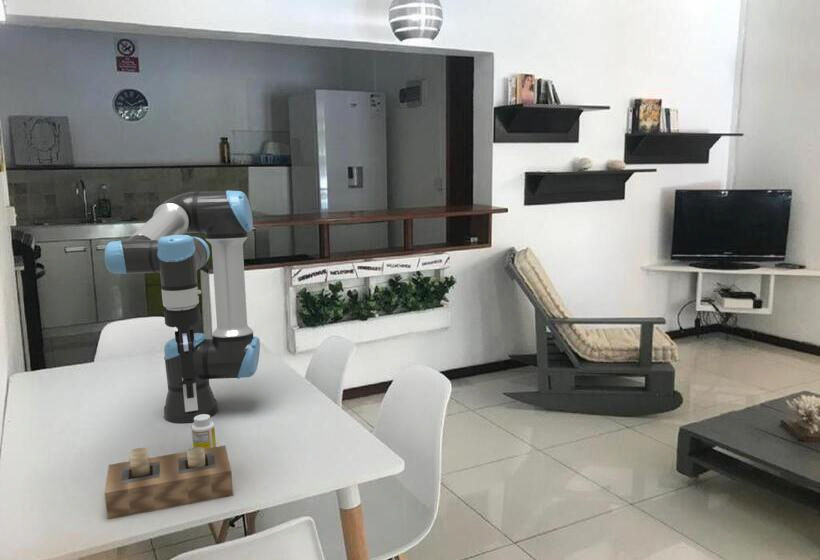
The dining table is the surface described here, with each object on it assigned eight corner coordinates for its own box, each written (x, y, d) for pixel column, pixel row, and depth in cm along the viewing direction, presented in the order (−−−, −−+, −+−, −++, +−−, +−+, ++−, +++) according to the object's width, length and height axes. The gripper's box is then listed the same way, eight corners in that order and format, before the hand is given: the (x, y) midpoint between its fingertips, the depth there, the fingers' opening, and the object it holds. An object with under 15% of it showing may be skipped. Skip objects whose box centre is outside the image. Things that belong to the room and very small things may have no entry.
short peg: (189, 480, 155) (187, 455, 154) (188, 472, 159) (186, 448, 157) (206, 477, 156) (204, 452, 155) (205, 469, 160) (203, 445, 159)
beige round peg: (131, 482, 151) (129, 456, 150) (132, 474, 154) (129, 449, 153) (150, 478, 152) (147, 453, 151) (150, 471, 156) (147, 446, 154)
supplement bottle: (208, 447, 178) (205, 411, 176) (221, 453, 175) (217, 416, 173) (189, 455, 174) (186, 417, 172) (202, 461, 171) (198, 423, 169)
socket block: (107, 519, 145) (104, 493, 144) (111, 488, 158) (108, 464, 157) (233, 495, 154) (231, 470, 153) (227, 468, 167) (225, 445, 166)
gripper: (201, 312, 143) (211, 417, 148) (197, 297, 158) (206, 393, 163) (163, 316, 141) (174, 423, 146) (163, 300, 156) (173, 397, 160)
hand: (191, 407), depth 154 cm, fingers open, 3 cm apart
